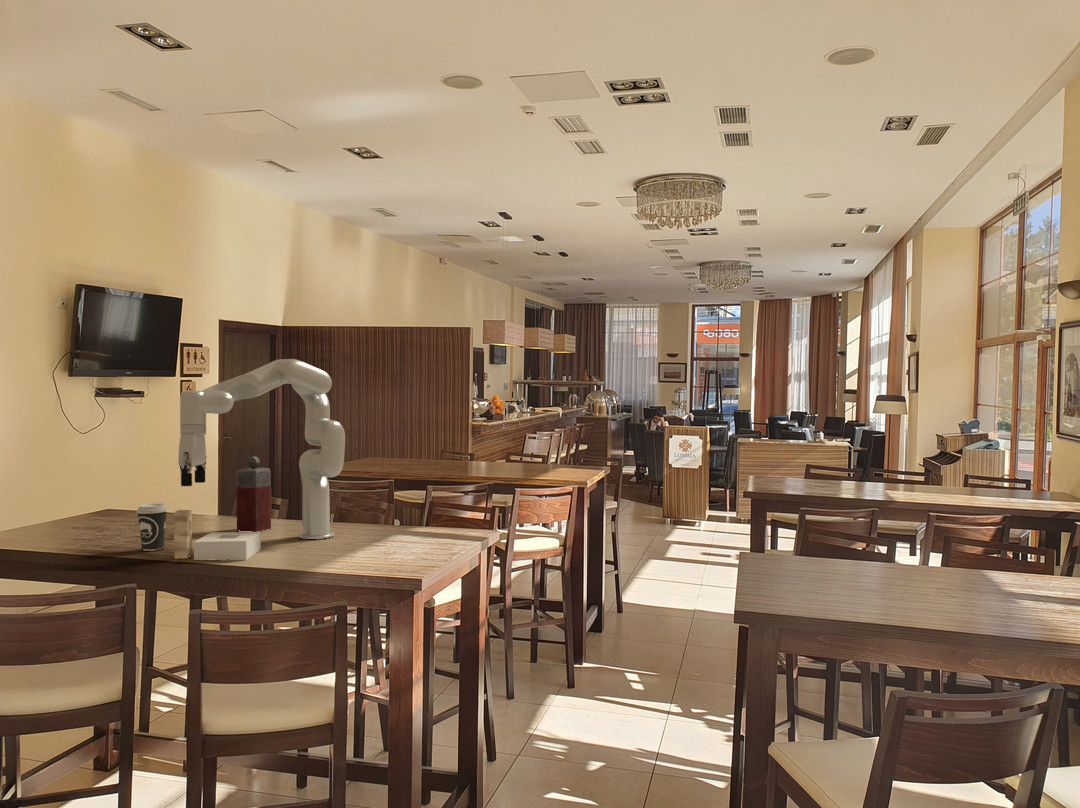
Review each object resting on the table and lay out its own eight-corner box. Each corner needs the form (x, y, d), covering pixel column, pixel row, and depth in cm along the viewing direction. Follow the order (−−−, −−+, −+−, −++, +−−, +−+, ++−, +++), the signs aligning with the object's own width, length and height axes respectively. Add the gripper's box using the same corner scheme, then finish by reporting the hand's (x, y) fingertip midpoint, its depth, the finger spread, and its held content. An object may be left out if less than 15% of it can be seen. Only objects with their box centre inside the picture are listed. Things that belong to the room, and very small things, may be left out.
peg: (179, 556, 252) (178, 510, 252) (192, 556, 253) (191, 509, 252) (174, 559, 248) (173, 512, 248) (187, 559, 249) (186, 511, 248)
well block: (211, 550, 262) (211, 532, 262) (260, 549, 263) (260, 531, 263) (193, 561, 246) (193, 541, 246) (246, 559, 247) (246, 540, 247)
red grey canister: (275, 527, 304) (274, 455, 304) (256, 532, 294) (256, 457, 293) (255, 526, 307) (254, 454, 306) (236, 531, 296) (235, 457, 295)
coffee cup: (169, 550, 262) (169, 505, 261) (137, 554, 257) (136, 508, 257) (167, 545, 270) (166, 502, 270) (136, 548, 265) (135, 504, 265)
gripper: (193, 428, 257) (193, 481, 257) (168, 431, 240) (168, 487, 240) (216, 428, 257) (216, 481, 257) (193, 431, 240) (193, 487, 240)
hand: (193, 484), depth 249 cm, fingers open, 9 cm apart
